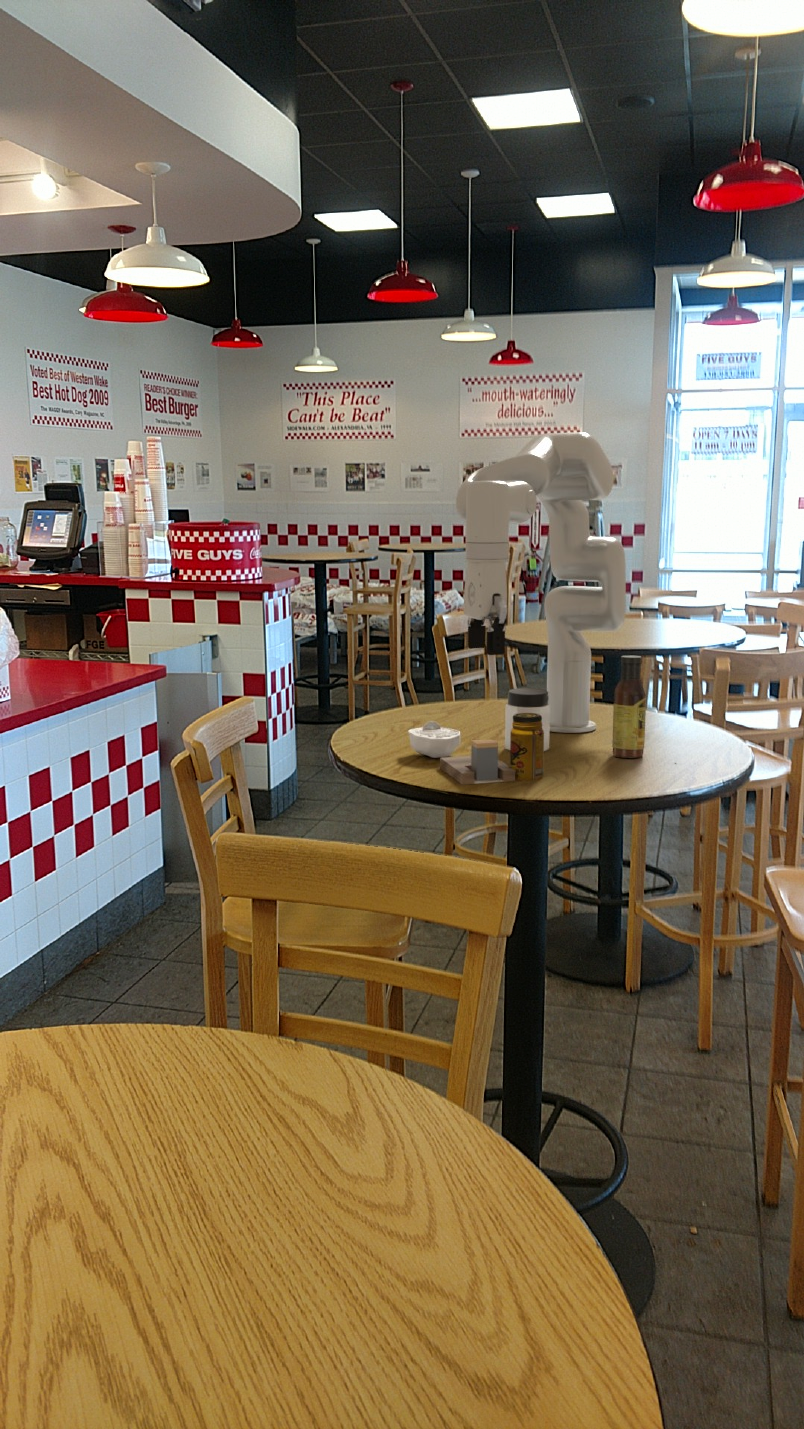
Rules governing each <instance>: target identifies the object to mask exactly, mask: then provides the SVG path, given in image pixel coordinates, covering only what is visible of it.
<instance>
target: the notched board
mask: <svg viewBox="0 0 804 1429" xmlns="http://www.w3.org/2000/svg"><path fill="white" fill-rule="evenodd" d="M439 759H440V760H439V768H440V769H441V770H442V771H444V773H446V774H447V775H449V776H450V777H451V778H453V779H454V780H455V781H456V782H458V783H459V784H460V785H462V786H463V785H474V784H475V785H476V784H490V783H501V782H502V783H504V782H515V781H516V779H515V770H514V769H513V768H511V767H510V765H508V764H506V763H505V762H504V761H502V760H500V759H498V779H497V780H483V781H476V780H475V779H474V772H473V771H471V755H465V756H464V755H461V756H460V755H459V756H447V757H439Z"/></svg>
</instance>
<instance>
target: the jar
mask: <svg viewBox="0 0 804 1429" xmlns="http://www.w3.org/2000/svg"><path fill="white" fill-rule="evenodd" d="M548 699H549V696H548V691H547V689H546V690H545V689H541V688H531V687H529V688H528V687H527V688H526V687H525V688H523V687H522V688H512V689H509V690H508V691H507V703H505V715H504V716H505V717H504V718H505V719H504V721H505V722H504V723H505V724H504V749H505V750H507V751H510V737H511V736H510V735H511V729H512V728H513V726H512V723H513V716H514V715H515V714H518V713H536V714H539V715H541V716H542V729H543V731H544V752H546V751H548V750H550V731H549V729H550V704H548Z"/></svg>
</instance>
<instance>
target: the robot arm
mask: <svg viewBox="0 0 804 1429" xmlns="http://www.w3.org/2000/svg"><path fill="white" fill-rule="evenodd" d="M613 486H614V472H613V467H612V465H611V462H610V460H609V458H608V456H607V455H606V452H604V449H603V447H602V446H601V444H600V443H599V442H598V440H597V439H596V438H595V437H593V435H591V434H589V433H587V432H580V431H579V432H558V433H557V432H556V433H555V432H552V433H551V432H550V433H542V434H539V435H537V436H535V437H533V438H532V439H531V440H529V441H528V442H527V443H526V444H525V445H524V447H523V448H522V449H521V450H520V451H519V452H518V453H517V454H516V455H515V456H511V457H509V458H505V459H503V460H500V461H497V462H494V463H492V464H489V465H485V466H483V467H481V468H479V469H476V470H475V471H473V472H472V473H471V474H470V475H469V476H468V477H466V478H465V479H464V481H463V482H462V483H461V484H460V486H459V488H458V490H457V492H456V497H455V510H456V512H457V515H458V516H459V518H460V519H461V520H462V521H464V522H465V562H466V569H465V578H464V591H463V595H464V597H463V613H464V615H465V617H467V618H468V619H467V648H468V649H484V648H485V649H486V652H485V653H486V655H487V656H502V655H505V653H506V630H507V627H506V623H507V621H508V620H507V615H508V603H507V602H508V586H507V583H508V581H507V568H506V567H507V566H506V563H509V561H510V558H509V556H510V524H511V525H512V524H523V523H525V522H528V521H529V520H530V519H531V518H532V516H534V514H535V512H536V509H537V501H538V500H537V498H538V499H539V500H540V502H541V503H542V505H543V507H544V509H545V511H546V513H547V518H548V526H549V527H548V528H549V529H548V530H549V559H550V570H551V574H552V576H554V578H556V579H558V580H562V581H567V582H569V581H570V582H594V583H595V582H598V583H599V584H600V586H587V585H585V586H583V585H582V586H580V585H563V586H558V587H554V588H552V589H551V590H550V591H549V592H548V593H547V594H546V596H545V600H544V616H545V622H546V630H547V662H546V663H547V669H546V691H548V696H549V699H548V704H550V729H549V732H554V733H565V734H569V733H570V734H575V733H576V734H578V733H588V732H592V731H594V730H596V729H597V728H596V727H597V723H596V722H595V721H592V720H591V719H590V707H591V705H590V700H591V671H592V669H591V667H592V651H591V645H590V644H589V642H588V640H587V639H586V637H585V635H584V634H583V633H582V632H585V631H590V632H615V631H618V630H619V629H621V628H622V627H623V625H624V622H625V619H626V609H627V608H626V606H627V605H626V603H627V602H626V600H627V599H626V597H627V595H626V592H627V591H626V588H627V587H626V585H627V584H626V582H627V580H626V572H627V571H626V554H625V553H626V552H625V549H624V546H623V543H622V542H621V541H620V540H619V539H617V538H615V537H611V536H610V537H609V536H592V535H591V533H590V513H589V510H588V507H587V506H586V504H585V502H583V501H599V500H603V499H605V498H607V497H608V496H609V495H610V494H611V491H612V490H613ZM485 621H486V625H487V627H486V625H484V624H485ZM486 628H488V629H486ZM486 630H488V631H486Z"/></svg>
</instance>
